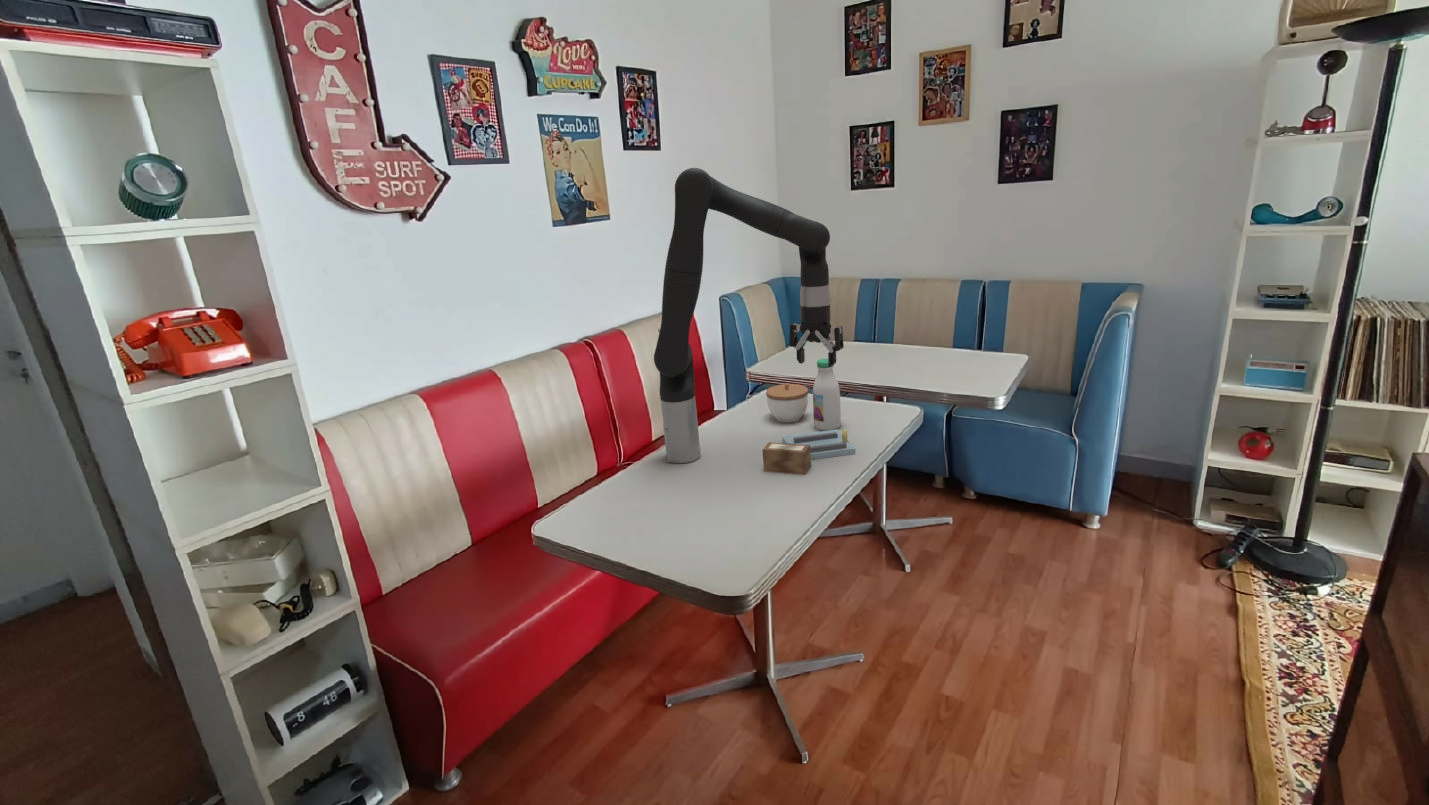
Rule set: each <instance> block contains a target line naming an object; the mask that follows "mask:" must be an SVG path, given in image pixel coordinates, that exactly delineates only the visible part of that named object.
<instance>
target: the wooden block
mask: <svg viewBox="0 0 1429 805" xmlns="http://www.w3.org/2000/svg"><path fill="white" fill-rule="evenodd" d="M762 462H763V471H764V472H771V473H774V472H775V473H785V474H797V475H807V474H808V472H809V471H810V469H811V467H812V460H811V451H810V445H801V444H787V443H783V442H771V441H768V442H767V443H766V444H765V446H764V447H763V448H762Z"/></svg>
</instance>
